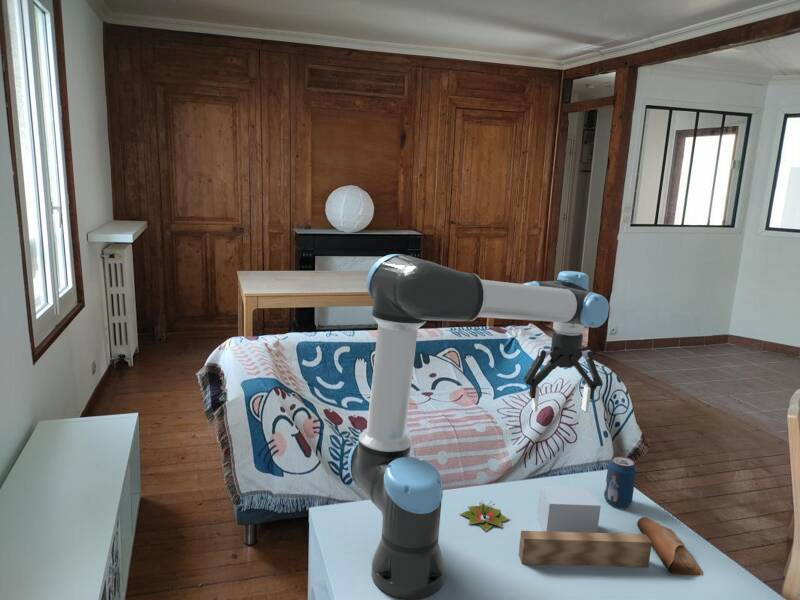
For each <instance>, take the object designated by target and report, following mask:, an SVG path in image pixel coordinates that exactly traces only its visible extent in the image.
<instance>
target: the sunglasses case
mask: <svg viewBox="0 0 800 600" xmlns="http://www.w3.org/2000/svg"><path fill="white" fill-rule="evenodd" d="M636 526H637V527H638V529H639V531H640V533H641V534H646V535H647V537H648V538H649V539H650V540H651V542H652V546H651V549H653V551H654V552H655V554H656V555H657V557H658V558H659V559H660V561H661V563H662V564H663V566H664V567H665V569H666V570H667V572H668V573H669V574H670V576H672V575H673V576H694V577H695V576H702V577H704V573H703V571H702V570H701V568H700V566H699V565H698V563H697V562H696V560H695V559H694V557H693V555H692V554H691V553H690V551H689V550H688V549H687V548H686V547H685V544H684V542H683V541H682V540H681V539H680V538H679V537H678V536H677V534H676V533H675V531H673V530H672V529H670V528H668V527H666V526H663V525H662V524H660V523H658V522H656V521H655V520H653V519H651V518H649V517H647V516H641V517H640V518H639V519H638V520H637V523H636Z"/></svg>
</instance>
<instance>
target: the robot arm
mask: <svg viewBox="0 0 800 600" xmlns="http://www.w3.org/2000/svg"><path fill="white" fill-rule="evenodd" d="M589 279H590V278H589V275H588V274H587V273H584V272H582V271H581V272H580V271H575V270H574V271H573V270H563V271H560V272H559V273H558V275H557V279H556V280H548V281H547V280H546V281H545V280H544V281H536V280H533V281H529V282H525V283H516V282H515V283H514V282H507V281H505V282H504V281H495V280H490V279H489V280H488V279H481V278H480V276H479V275H477V274H476V273H471V272H464V271H459V270H456V269H453V268H450V267H447V266H444V265H441V264H438V263H435V262H434V261H429V260H426V259H420V258H418V257H413V256H411V255H407V254H401V253H399V254H398V253H396V254H395V253H393V254H388V255H385V256H383V257H381V258H379V259H378V260H377V261H376V262H375V263H374V264H373V265H372V267H371V268H370V269H369V272H368V275H367V279H366V288H367V293H368V294H369V296H370V298H371V299H372V300H373V303H372V314H371V317H372V318H373V320H374V321H375V322H376V324H377V332H376V343H375V351H374V362H373V368H372V369H373V370H372V376H371V377H372V379H371V387H370V397H369V404H368V405H369V406H368V414H367V424H366V429H364V430H363V431H362V432H361V433H359V435H358V440H357V441H356V443H355V445H354V446H352V448H351V450H350V451H349V455H348V458H347V469H348V472H349V475H350V477H351V479H352V482H354V484H355V486H356V487H357V488H358V489H359V490H360V491H362V492H363V494H364V495H365V496H366V497H367V498H368V499H369V500H370V501H371V503H372V504H374V505H375V507H376V508H377V509H378V510H379V511H380V512H381V514H382V522H381V525H382V526H381V527H382V528H381V538H380V541H379V543H378V545H377V547H376V550H375V553H374V555H373V558H372V561H371V571H370V572H371V574H370V576H371V578H372V581H373V583H374V584H375V586H376V587H377V588H378V589H379V590H380V591H382V592H384V593H385V594H387V595H389V596H391V597H394V598H399V599H405V600H418V599H423V598H427V597H429V596H431V595H433V594H435V593H437V592H438V591H439V590H440V589H441V587H442V586H443V585H444V582H445V575H446V574H445V571H446V567H445V562H444V558H443V555H442V551H441V546H440V544H439V535H440V524H441V512H442V511H441V510H442V500H443V496H444V494H443V491H444V490H443V479H442V475H441V474H440V472H439V470H438V469H437V467H435V466H434V465H433V464H432V463H430V462H428V461H427V460H425V459H422V460H420V458H419V457H413V456H410V454H411V447H412V440H411V439H410V437H409V436H408V435H407V433H406V432H407V423H408V415H409V414H408V413H409V407H410V397H411V389H412V381H413V371H414V365H415V357H416V346H417V341H418V340H417V339H418V330H419V329H420V327H422V326H424V325H425V324H426V323H427V321H434V322H435V321H438V322H439V321H443V322H445V321H446V322H447V321H448V322H472V321H475V320H476V319H477V318H492V319H503V320H520V321H521V320H523V321H535V322H536V321H537V322H553V326H552V329H553V331H552V334H551V337H552V338H551V343H550V344H551V346H550V349H549V350H548V349H544V348H542V347H541V348H540V347H539V349H538V351H537V356H536V358H535V359H534V361H533V362H532V364H531V366H530V367H529V369H528V370H527V372H526V374H525V375H524V377H523V379H522V380H523V382H524V383H525V384H526V385H529V391H528V396H529V397H530V399H531V409H532V410H533V411H534V412H535V413H536V412H538V409H539V408H538V407H539V401H540V400H539V399H540V398H539V396H540V388H541V387H539V384H541V382H542V381H543V380H544V379H546V377H547V376H548V375H550V373H551V372H552V371H554V370H556V368H557V367H558V368H560V369H561V368H562V369H563V368H569V369H572V368H573V367H574V368H575V370H576V371H577V372H578V374H579V375H580V376H581V378H582V379H583V381H584V382H585V383H586V384H587V385H584V386H583V389H582V390H583V392H582V398H581V399H582V400H581V409H582V411H583V412H584V413H589V409H590V400H593V398H594V392H595V390H596V389H597V387H602V386H603V382H602V379H601V377H600V374H599V372H598V370H597V366H596V364H595V360H594V352H592V350H590V349H588V348H587V349H585V350H582V347H583V339H584V335H583V332H584V328H586V327H588V328H599V327H601V326H602V325H603V324H604V323H605V322H606V321H607V318H609V317H608V316H609V312H610V304H609V302H608V299H607V298H606V297H605V296H604V295H601V294H598V293H595V292H594V291H590V290H589V282H590V281H589ZM548 356H549V357H550V358H549V360H548V361H546V362H547V363H546V364H545V365H544V366H543V367H542V365H543V364H544V361H545V359H548ZM582 357H583V358H584V359H585V361H586V364H587V368H588V369H589V372H590V374H591V377H592V379H591V378H590V376H589V375H588V373H587V372H586V371H585V370H584V368H583V366H582V365H581V364H580V362H579V361H580V360H581V358H582ZM541 367H542V368H541ZM540 368H541V369H540Z"/></svg>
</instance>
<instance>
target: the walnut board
mask: <svg viewBox="0 0 800 600" xmlns="http://www.w3.org/2000/svg"><path fill="white" fill-rule="evenodd" d="M651 551H652V542H651V540H650V539H649V538H648V537H647V535H646V534H643V533H611V532H597V533H585V532H552V531H542V530H521V531H520V536H519V546H518V557H519V560H520V564H522V565H523V564H525V565H554V566H555V565H557V566H558V565H559V566H560V565H561V566H592V567H594V566H595V567H597V566H598V567H624V568H625V567H631V568H633V567H634V568H649V564H650V559H651Z"/></svg>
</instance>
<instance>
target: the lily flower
mask: <svg viewBox="0 0 800 600" xmlns="http://www.w3.org/2000/svg"><path fill="white" fill-rule="evenodd" d="M478 504H479V505H471V506H467V508H469V510H468V511H463V512H462V513H460V515H461V516H464V517H466V518H468V519H469V520H468V522H469V523H468V525H469V526H471V525H473V524H478V525H479V526H480V527H481V528H482V529H483V530H484V531H485V532H487V531H488V530H489V529H491V528H492V527H493V525H495V526H498V527H500V528H502V529H504V527H503V524H502V522H505V521H506V522H507V521H510V520H512V519H510V518H508V517H506V516H505V515H502V514H500V512H501V509H499V508H494V506H495V505H496V503H493V504H491V502H489V503H488V505H487V504H486V503H485V502H483V500H482V499H481V500H480V502H479V503H478ZM490 504H491V505H490ZM482 517H483V518H484V519H482ZM487 517H488V519H486V518H487ZM485 523H486V524H485Z"/></svg>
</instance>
